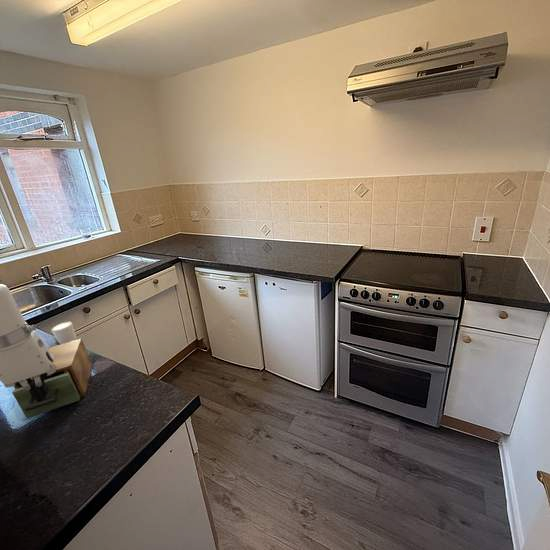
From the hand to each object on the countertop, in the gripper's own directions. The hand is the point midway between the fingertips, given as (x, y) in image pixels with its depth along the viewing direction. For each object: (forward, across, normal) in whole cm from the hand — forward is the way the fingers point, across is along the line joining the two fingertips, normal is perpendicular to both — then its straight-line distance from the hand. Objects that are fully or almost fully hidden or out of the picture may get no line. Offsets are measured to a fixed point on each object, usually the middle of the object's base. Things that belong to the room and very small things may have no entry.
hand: (42, 397), depth 76 cm
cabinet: (+7, 0, -13) cm, 15 cm away
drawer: (+6, 0, -7) cm, 10 cm away
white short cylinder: (+7, +5, -45) cm, 46 cm away
